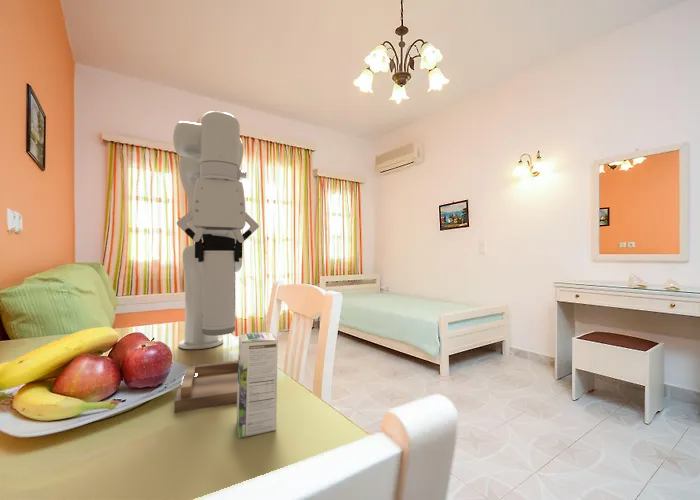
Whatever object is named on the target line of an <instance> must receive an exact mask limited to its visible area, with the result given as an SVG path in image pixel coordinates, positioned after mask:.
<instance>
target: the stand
mask: <svg viewBox="0 0 700 500" xmlns="http://www.w3.org/2000/svg"><path fill="white" fill-rule="evenodd" d="M195 373H198V376H197V377H194V376H195ZM184 374H185V376H184V379H183V383H182V385H180V384H179V385H180V386H178V389H177V392H176V394H175V399H174V403H173V404H174V406H173V407H174V408H173V409H174V410H173V411H174V413H179V412H185V411H186V412H187V411H193V410H197V409H198V410H199V409H205V408H212V407H219V406H224V405H231V404H237V385H238V360H230V361H220V362H214V363H213V362H210V363H203V364H195V365H193V366H191V365H190V366H186V370H185V373H184Z"/></svg>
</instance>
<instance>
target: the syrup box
mask: <svg viewBox="0 0 700 500" xmlns="http://www.w3.org/2000/svg"><path fill="white" fill-rule="evenodd" d="M278 341H279V340H278V338H277V337H276V336H275V335H274V333H272V332H250V333H244V334H239V336H238V360H237V361H238V385H237V403H236V427H237V433H238V435H237V436H238V438H245V437H250V436H255V435H261V434H265V433H269V432H274V431H276V430H277V404H278V403H277V399H278V396H277V395H278V392H277V391H278V390H277V389H278V346H279V345H278Z"/></svg>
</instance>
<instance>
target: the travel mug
mask: <svg viewBox="0 0 700 500" xmlns="http://www.w3.org/2000/svg"><path fill="white" fill-rule="evenodd" d="M202 243H203V246H204V247H203V280H202V325H203V326H202V333H203V334H204V335H210V336H216V335H218V336H225V335H228V334H232V333H234V332H235V330H236V272H235V239H234V238H230V237H225V236H216V235H212V234H203V240H202Z"/></svg>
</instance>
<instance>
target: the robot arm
mask: <svg viewBox="0 0 700 500" xmlns="http://www.w3.org/2000/svg"><path fill="white" fill-rule="evenodd" d="M240 126H241V125H240V122H239V120H238V119H237V117H235V116H234V115H232V114H230V113H228V112H225V111H224V112H222V111H217V110H213V111H208V112H206V113H204V114H203V115H202V116H201V119H200V123H197V122H190V121H183V120H180V121H178V122H177V123H176V125H175V127H174V130H173V135H172V140H173V141H172V142H173V148H174V151H175V152H176V154H177V155H178V156H180V157H181V158H180V159H179V163H178V172H179V173H178V174H179V178H180V182H181V186H182V187H183V190H184V192H185V195H186V199H187V213H186V214H184V216H182V217H181V218H180V219H179V220H178V221H177V222H176V226H178V227H179V228H180V229H181V230H182V231H183V232H184V233H185V234H186V235H187V236H188V237H189V238H190V239H192V241H193V242H194V243H192V244H189V245H187V246H185V247H184V249H183V251H182V265H183V272H184V285H185V286H184V290H185V291H184V292H185V295H184V296H185V297H184V298H185V299H184V339H182V340H180V341H179V342H178V347H179V348H180V349H183V350H184V349H185V350H204V349H210V348H214V347H218V346H220V345H221V344H223V342H224V338H223V337H222V336H220V335H216V336H210V335H204V334H203V333H202V326H203V325H202V280H203V247H204V246H203V234H212V235H216V236H225V237H230V238H234V239H235V273H237V272H239V271H240V270H241V269H242V265H243V243H244V242H245V241H246V240H247V239H248V238H249V237H250V236H251V235H252V234H253V233H255V232H256V230H258V229H259V226H260V225H259V224H258V223H257V222H256V221H255V220H254V219H253V218H252V217H251V216H250V215H249V214H248V213H247V212H246V200H245V198H246V197H245V190H244V186H243V182H241V180H242V179H247V172H246V171H243V170H242V169H241V165H242V163H243V157H244V143H243V141H242V138H241V133H240V132H241V131H240V129H241V127H240ZM246 223H247V224H248V225H249V228H248V229H247V230H246V231H244V233H242V230H243V229H244V228H245V226H246Z"/></svg>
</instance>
